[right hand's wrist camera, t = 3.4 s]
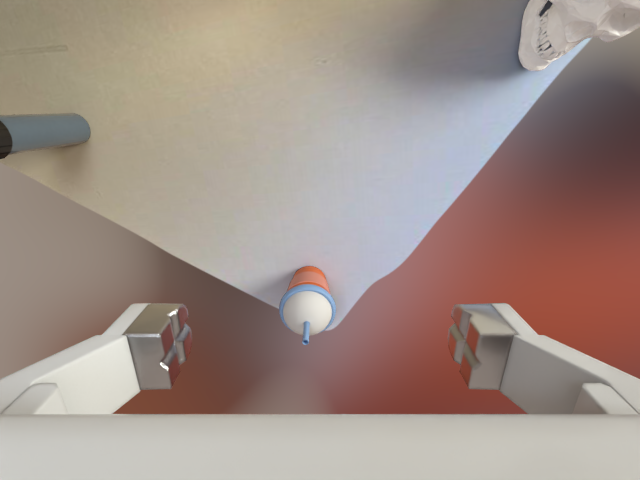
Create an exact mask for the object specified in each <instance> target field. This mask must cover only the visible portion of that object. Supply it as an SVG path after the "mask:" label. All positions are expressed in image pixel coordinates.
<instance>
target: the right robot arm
mask: <svg viewBox="0 0 640 480" xmlns="http://www.w3.org/2000/svg"><path fill="white" fill-rule="evenodd" d="M188 317H189V315H188V310H187V307H186V306H185V305H184V304H157V303H152V304H150V303H135V304H132V305H130V306H129V307H128V308H127V310H126V311H125V312H124V313H123V314H122V315H121V316H120V317H119V318H118V319H117V320H116V321H115V322H114V323H113V324H112V325H111V326H110V327H109V328H108V329H107V330H106V331H105V332H104V333H103V334H102V335H96V336H93V337H91V338H89V339H87V340H85V341H83V342H80V343H78V344H76V345H74V346H72V347H69V348H67V349H65V350H63V351H61V352H59V353H56V354H54V355H52V356H50V357H48V358H46V359H43V360H41V361H39V362H37V363H35V364H32V365H30V366H28V367H26V368H24V369H21V370H19V371H17V372H15V373H13V374H11V375H8V376H6V377H4V378H2V379H0V480H640V379H638V378H636V377H633V376H631V375H629V374H627V373H625V372H623V371H620V370H618V369H616V368H614V367H612V366H610V365H607V364H605V363H603V362H601V361H599V360H597V359H594V358H592V357H590V356H588V355H586V354H583V353H581V352H579V351H577V350H575V349H573V348H570V347H568V346H566V345H564V344H562V343H559V342H557V341H555V340H553V339H551V338H549V337H547V336H544V335H538V334H537V333H536V332H535V331H534V330H533V329H532V328H531V327H530V326H529V325H528V324H527V323H526V322H525V321H524V320H523V319H522V318H521V317H520V316H519V315H518V314H517V313H516V312H515V311H514V309H513V308H512V307H511V306H510V305H508V304H506V303H493V304H459V305H454V307H453V309H452V315H451V317H452V319H453V320H454V322H455V323H454V324H453V325H452V326H451V328H449V333H448V346H449V350H450V353H451V356H452V358H453V360H454V361H456V362H457V363H459V364H460V365H461V366H460V373H461V375H462V377H463V379H464V380H465V382H466V384H467V386H468V388H469V389H493V390H500V392H501V393H503V394H504V395H505V396H506V397H508V398H509V399H510V400H511V401H513V402H514V403H515V404H516V405H518V406H519V407H520V408H522V409H523V410H524V411H525V412H526V413H528V414H112V413H114V412H115V411H116V410H117V409H119V408H120V407H121V406H122V405H124V404H125V403H126V402H127V401H129V400H130V399H131V398H132V397H134V396H135V395H136V394H137V393H139V392H140V390H146V389H171V388H172V386H173V384H174V382H175V380H176V379H177V377H178V375H179V373H180V366H179V365H180V364H181V363H183V362H184V361H186V360H187V358H188V356H189V354H190V350H191V345H192V333H191V328H189V326H188V325H187V324H186V323H185V322H186V320H187V319H188Z"/></svg>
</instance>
